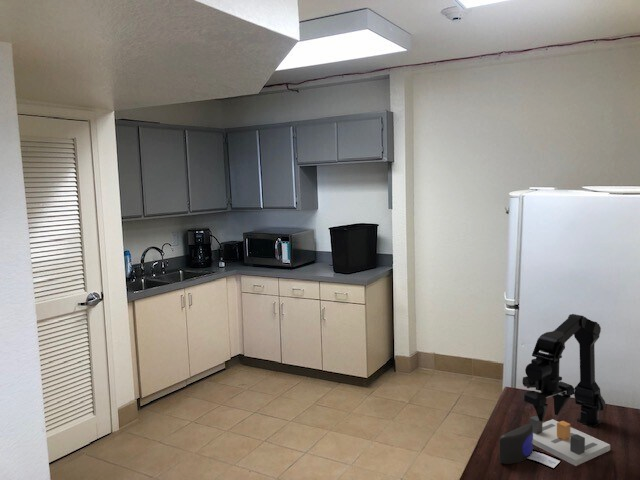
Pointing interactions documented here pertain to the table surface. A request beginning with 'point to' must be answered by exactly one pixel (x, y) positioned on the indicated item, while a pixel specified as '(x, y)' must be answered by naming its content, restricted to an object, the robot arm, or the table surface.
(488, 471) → the table surface
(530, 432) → the leaning round-cornered charcoal block
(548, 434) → the breaker panel
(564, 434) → the block
